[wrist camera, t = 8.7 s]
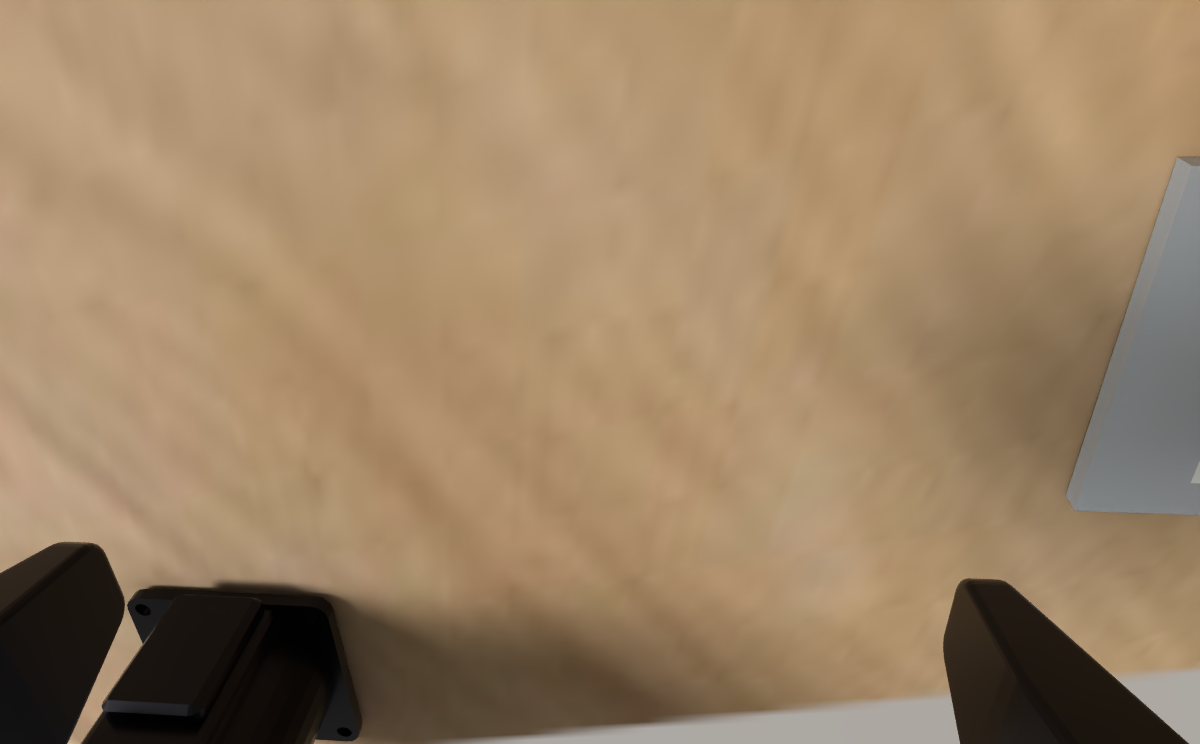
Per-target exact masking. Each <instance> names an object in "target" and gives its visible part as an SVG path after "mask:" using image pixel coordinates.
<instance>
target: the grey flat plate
mask: <svg viewBox="0 0 1200 744" xmlns="http://www.w3.org/2000/svg"><path fill="white" fill-rule="evenodd" d="M1066 497H1067V499H1068V501H1069V502H1070V504H1071V506H1072V507H1073V509H1074V511H1095V512H1124V513H1154V514H1183V515H1200V157H1177V159H1176V162H1175V166H1174V169H1173V172H1172V175H1171V178H1170V181H1169V184H1168V187H1167V190H1166V193H1165V196H1164V199H1163V202H1162V205H1161V208H1160V211H1159V214H1158V217H1157V220H1156V223H1155V226H1154V229H1153V232H1152V235H1151V238H1150V241H1149V244H1148V247H1147V250H1146V253H1145V257H1144V260H1143V263H1142V266H1141V269H1140V272H1139V275H1138V278H1137V281H1136V284H1135V287H1134V290H1133V293H1132V296H1131V299H1130V302H1129V305H1128V308H1127V311H1126V314H1125V317H1124V320H1123V323H1122V326H1121V329H1120V332H1119V335H1118V338H1117V341H1116V344H1115V348H1114V351H1113V354H1112V357H1111V360H1110V363H1109V366H1108V369H1107V372H1106V375H1105V378H1104V381H1103V384H1102V387H1101V390H1100V393H1099V396H1098V399H1097V402H1096V405H1095V408H1094V411H1093V414H1092V417H1091V420H1090V423H1089V426H1088V429H1087V432H1086V435H1085V439H1084V442H1083V445H1082V448H1081V451H1080V454H1079V457H1078V460H1077V463H1076V466H1075V469H1074V472H1073V475H1072V478H1071V481H1070V484H1069V487H1068V490H1067V493H1066Z"/></svg>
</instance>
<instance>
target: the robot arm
mask: <svg viewBox="0 0 1200 744" xmlns="http://www.w3.org/2000/svg"><path fill="white" fill-rule="evenodd" d="M127 606H128V610H129V613H130V615H131V617H132V620H133V622H134V624H135V627H136V629H137V631H138V634H139V636H140V638H141V640H142V643H143V645H142V646H141V648H140V649H139V650H138V652H137V653H136V655H135V656H134V658H133V659H132V661H131V662H130V663H129V665H128V666H127V668H126V669H125V671H124V672H123V674H122V675H121V677H120V678H119V679H118V681H117V682H116V684H115V685H114V687H113V688H112V690H111V691H110V692H109V694H108V695H107V697H106V698H105V700H104V701H103V704H102V709H103V712H102V713H101V715H100V716H99V718H98V719H97V721H96V722H95V724H94V725H93V726H92V728H91V729H90V731H89V732H88V734H87V735H86V737H85V738H84V740H83V741H82V743H81V744H314V741H315V739H317V740H334V741H353V740H355V739H357V738H358V736H359V734H360V731H361V728H362V719H361V715H360V712H359V708H358V704H357V700H356V696H355V692H354V689H353V685H352V681H351V677H350V673H349V669H348V665H347V662H346V658H345V654H344V650H343V646H342V642H341V638H340V635H339V631H338V627H337V623H336V619H335V615H334V611H333V608H332V606H331V605H330V604H329V603H328V602H327V601H326V600H324V599H322V598H318V597H308V596H286V595H264V594H242V593H220V592H198V591H176V590H153V589H142V590H139V591H137V592H136V593H135V594H134V595H133V597H132V598H131V599H130V601H129V602H128V605H127ZM124 608H125V601H124V596H123V593H122V591H121V588H120V586H119V584H118V581H117V579H116V577H115V575H114V572H113V570H112V568H111V565H110V563H109V561H108V558H107V556H106V554H105V552H104V550H103V549H102V548H101V547H99V546H98V545H97V544H93V543H81V542H60V543H56V544H53V545H51V546H49V547H47V548H45V549H44V550H42V551H40V552H38V553H36V554H35V555H33V556H31V557H29V558H27V559H25V560H24V561H22V562H20V563H18V564H16V565H14V566H13V567H11V568H9V569H7V570H5V571H3V572H2V573H0V744H67V743H68V741H69V739H70V737H71V735H72V733H73V730H74V728H75V726H76V724H77V721H78V719H79V717H80V715H81V712H82V710H83V708H84V706H85V703H86V701H87V699H88V696H89V694H90V692H91V690H92V687H93V685H94V683H95V681H96V678H97V676H98V674H99V672H100V669H101V667H102V665H103V662H104V660H105V658H106V656H107V653H108V651H109V649H110V647H111V644H112V642H113V640H114V638H115V635H116V633H117V631H118V628H119V626H120V624H121V621H122V618H123V615H124ZM943 652H944V661H945V666H946V671H947V677H948V682H949V687H950V693H951V698H952V703H953V708H954V714H955V719H956V724H957V730H958V735H959V740H960V744H1189V743H1187V742H1186V741H1185V740H1184V739H1183V738H1182V737H1181V736H1180V735H1178V734H1177V733H1176V732H1175V731H1174V730H1173V729H1172V728H1170V726H1168V725H1167V724H1166V723H1165V722H1164V721H1163V720H1162V719H1160V718H1159V717H1158V716H1157V715H1156V714H1155V713H1154V712H1153V711H1151V710H1150V709H1149V708H1148V707H1147V706H1146V705H1145V704H1144V703H1142V702H1141V701H1140V700H1139V699H1138V698H1137V697H1136V696H1135V695H1133V694H1132V693H1131V692H1130V691H1129V690H1128V689H1127V688H1126V687H1125V686H1123V685H1122V684H1121V683H1120V682H1119V681H1118V680H1117V679H1116V678H1115V677H1113V676H1112V675H1111V674H1110V673H1109V672H1108V671H1107V670H1106V669H1104V668H1103V667H1102V666H1101V665H1100V664H1099V663H1098V662H1097V661H1095V660H1094V659H1093V658H1092V657H1091V656H1090V655H1089V654H1088V653H1086V652H1085V651H1084V650H1083V649H1082V648H1081V647H1080V646H1079V645H1077V644H1076V643H1075V642H1074V641H1073V640H1072V639H1071V638H1070V637H1069V636H1067V635H1066V634H1065V633H1064V632H1063V631H1062V630H1061V629H1060V628H1058V627H1057V626H1056V625H1055V624H1054V623H1053V622H1052V621H1051V620H1049V619H1048V618H1047V617H1046V616H1045V615H1044V614H1043V613H1042V612H1040V611H1039V610H1038V609H1037V608H1036V607H1035V606H1034V605H1033V604H1031V603H1030V602H1029V601H1028V600H1027V599H1026V598H1025V597H1024V596H1022V595H1021V594H1020V593H1019V592H1018V591H1017V590H1016V589H1015V588H1014V587H1012V586H1011V585H1010V584H1008V583H1006V582H1005V581H1002V580H994V579H970V578H969V579H964V580H962V581H961V582H960V583H959V585H958V586H957V589H956V592H955V596H954V600H953V603H952V607H951V611H950V615H949V619H948V622H947V626H946V630H945V634H944V641H943Z"/></svg>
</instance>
